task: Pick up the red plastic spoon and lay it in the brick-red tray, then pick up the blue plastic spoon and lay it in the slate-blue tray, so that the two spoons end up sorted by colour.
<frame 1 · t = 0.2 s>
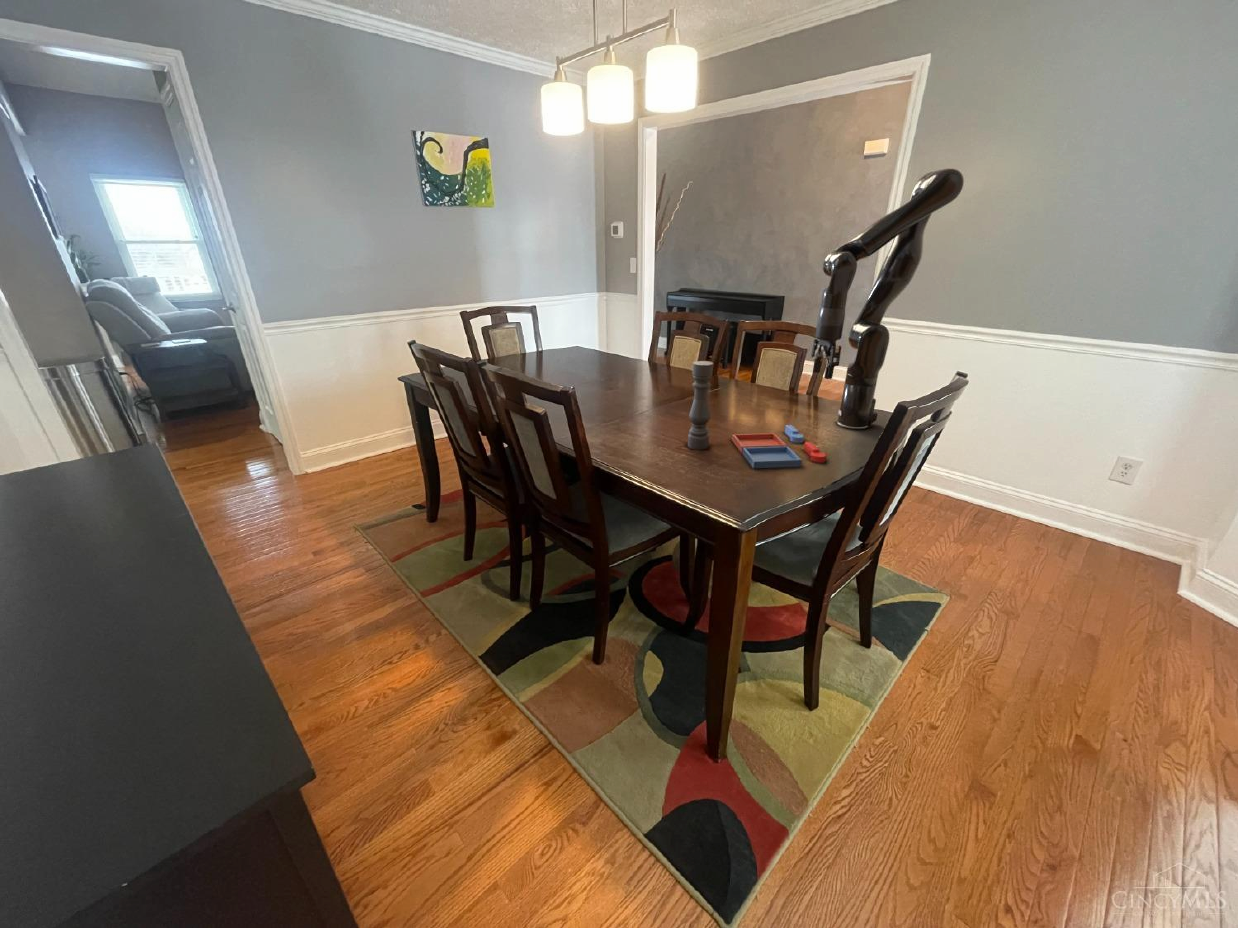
hand: (821, 375, 156), 17 cm above the table, tool pointing down, fingers open, 8 cm apart
blue tray: (770, 460, 137), on the table
blue spoon: (793, 438, 153), on the table
red tray: (758, 445, 147), on the table
candle holder: (697, 446, 148), on the table
red spoon: (813, 456, 139), on the table
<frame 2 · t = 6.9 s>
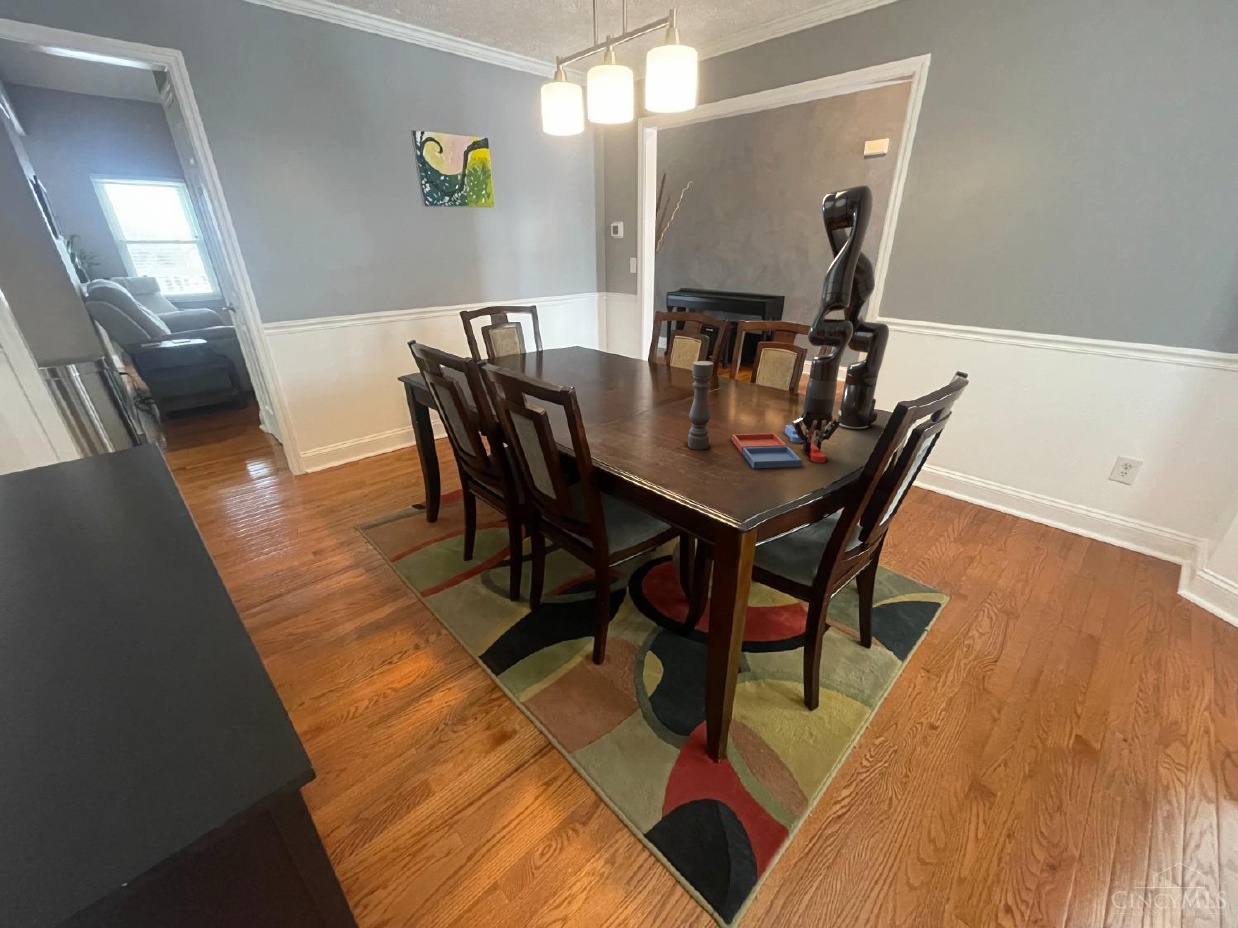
hand: (811, 452, 141), 0 cm above the table, tool pointing down, fingers closed on red spoon, 2 cm apart
red spoon: (813, 456, 139), on the table, touching gripper
everything else where it was.
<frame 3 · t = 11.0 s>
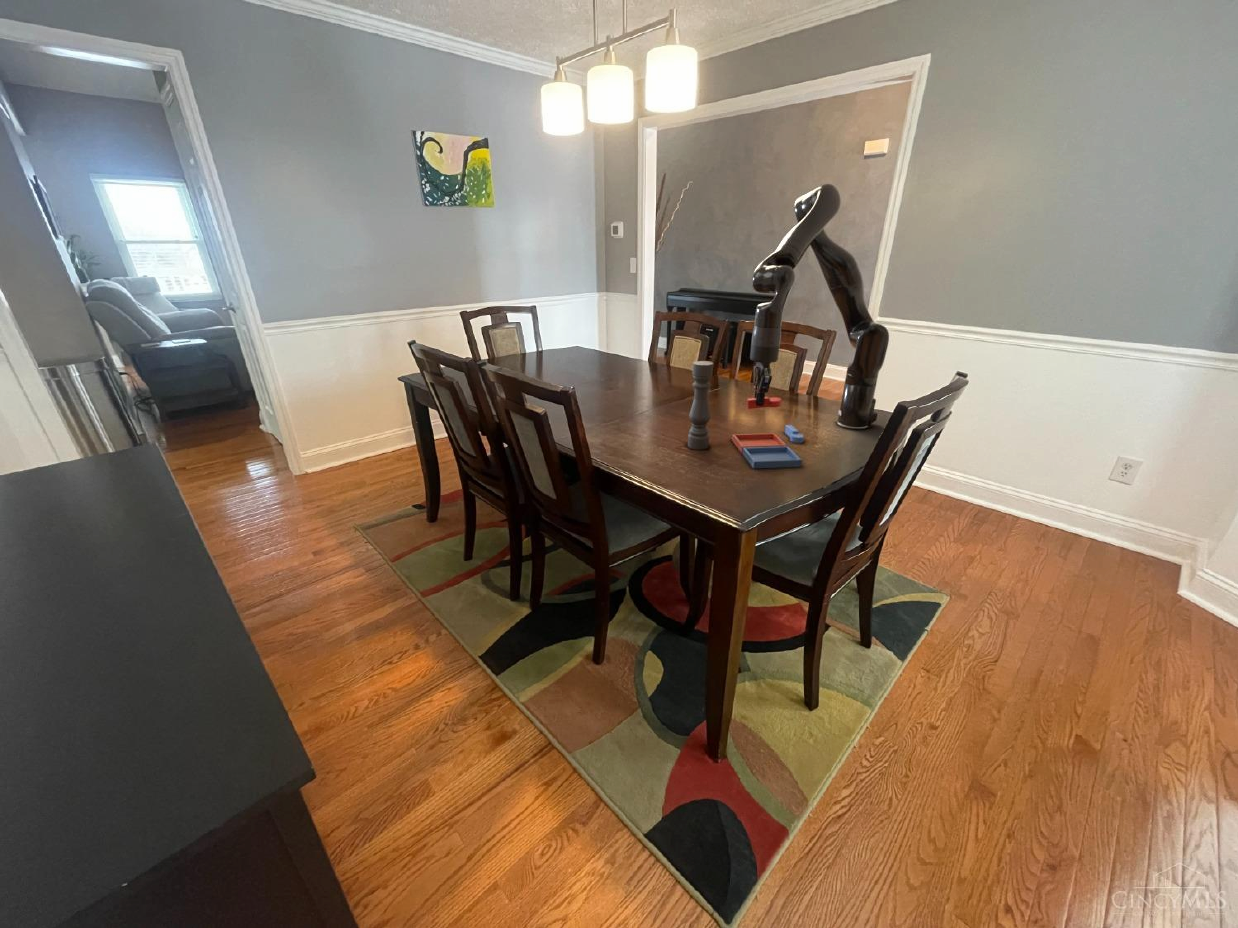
hand: (758, 404, 141), 13 cm above the table, tool pointing down, fingers closed on red spoon
red spoon: (765, 406, 141), point 13 cm above the table, tilted 7°, touching gripper
everything else where it was.
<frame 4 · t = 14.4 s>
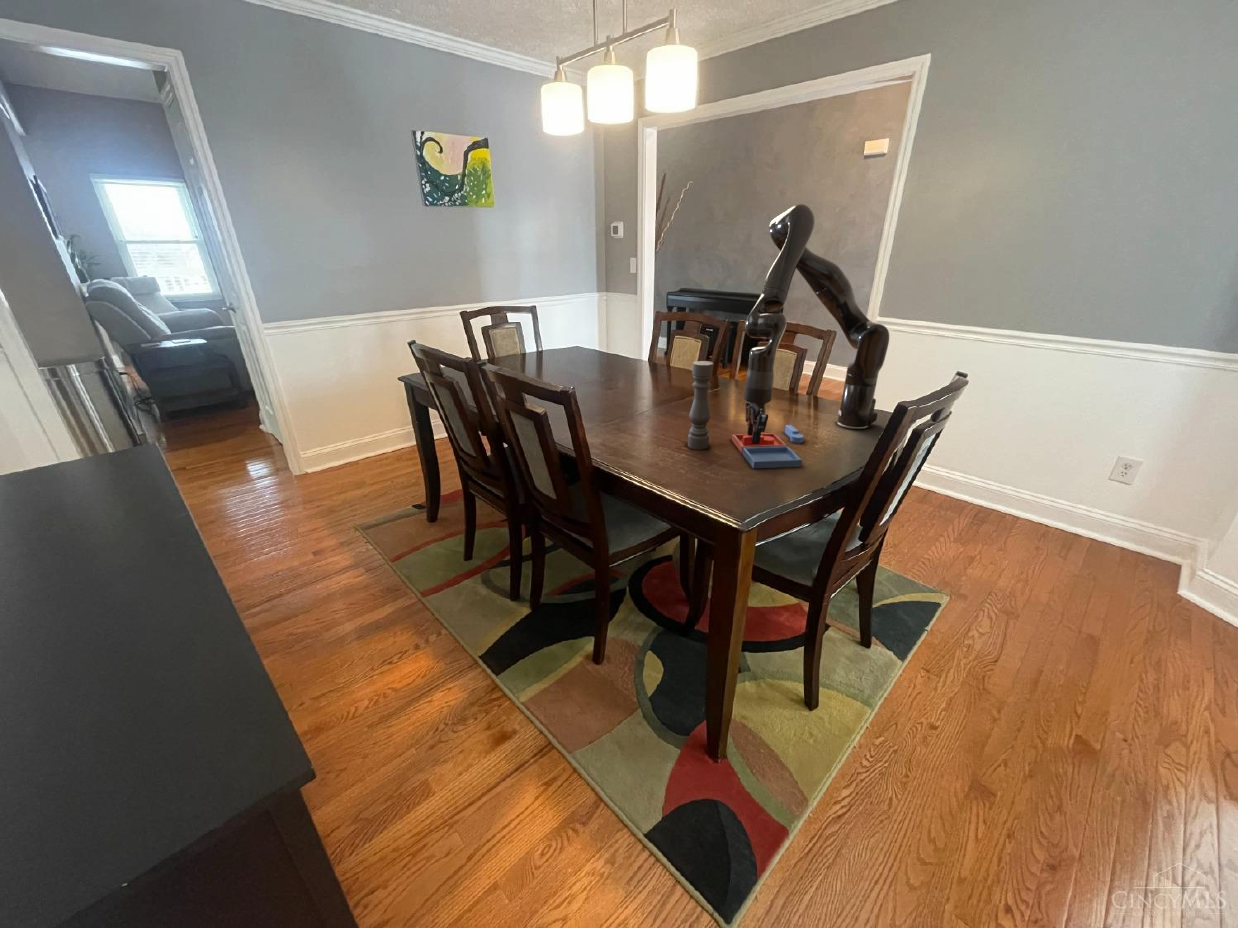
hand: (753, 440, 146), 2 cm above the table, tool pointing down, fingers open, 4 cm apart
red spoon: (759, 444, 147), resting on red tray
everything else where it was.
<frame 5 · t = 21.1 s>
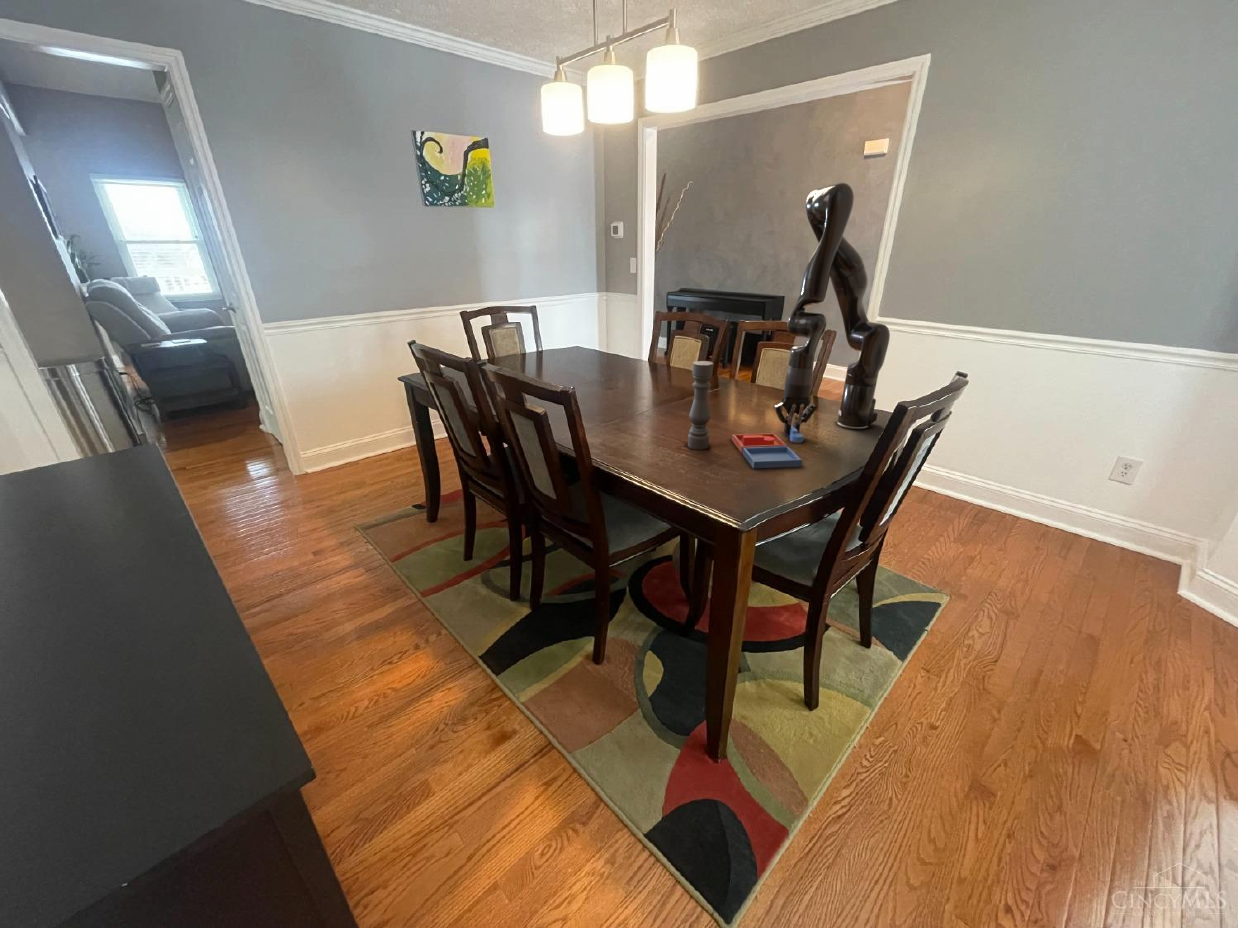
hand: (791, 434, 155), 0 cm above the table, tool pointing down, fingers closed on blue spoon
blue spoon: (793, 437, 153), on the table, touching gripper
everything else where it was.
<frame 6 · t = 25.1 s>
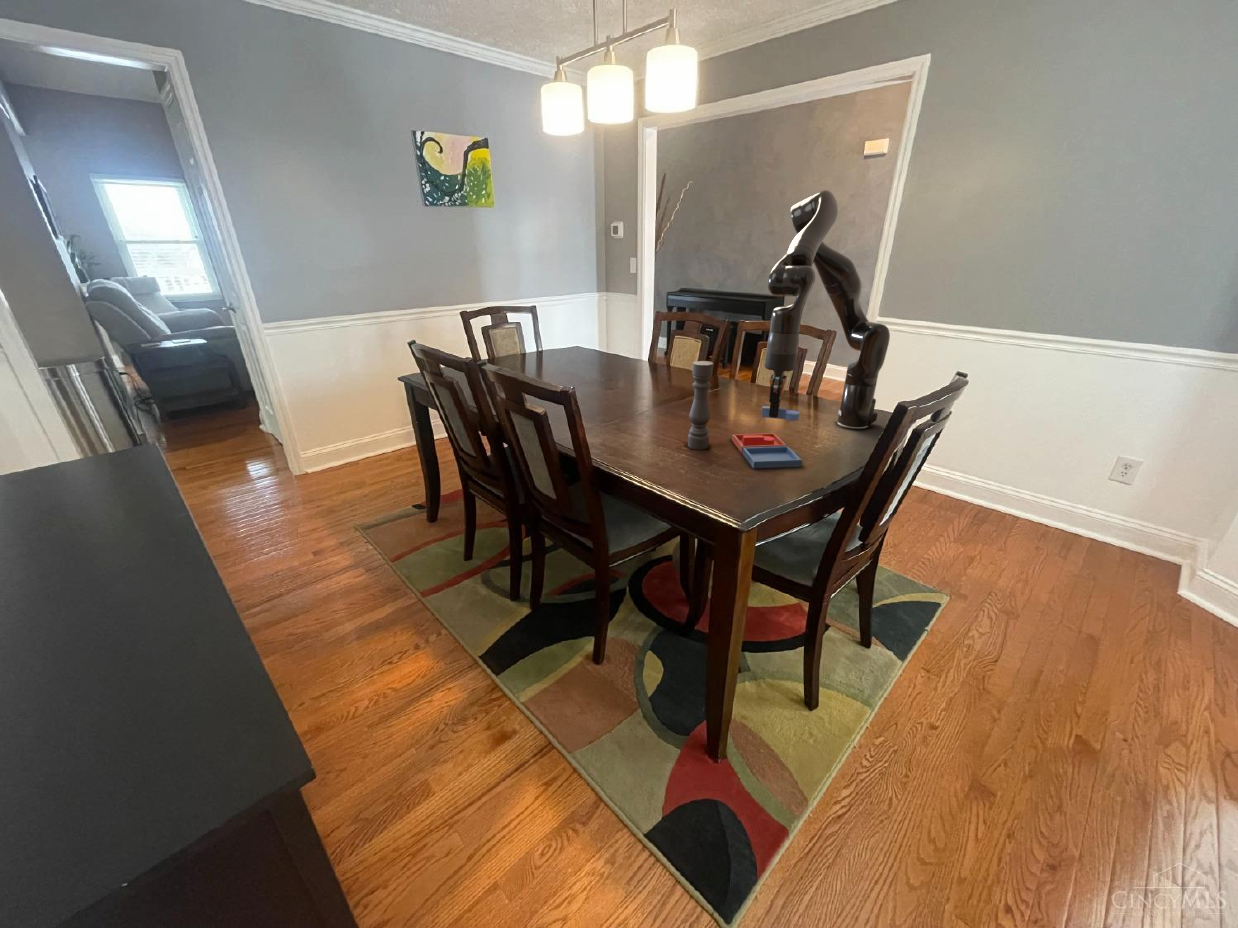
hand: (773, 415, 131), 13 cm above the table, tool pointing down, fingers closed on blue spoon
blue spoon: (781, 417, 130), point 13 cm above the table, touching gripper
everything else where it was.
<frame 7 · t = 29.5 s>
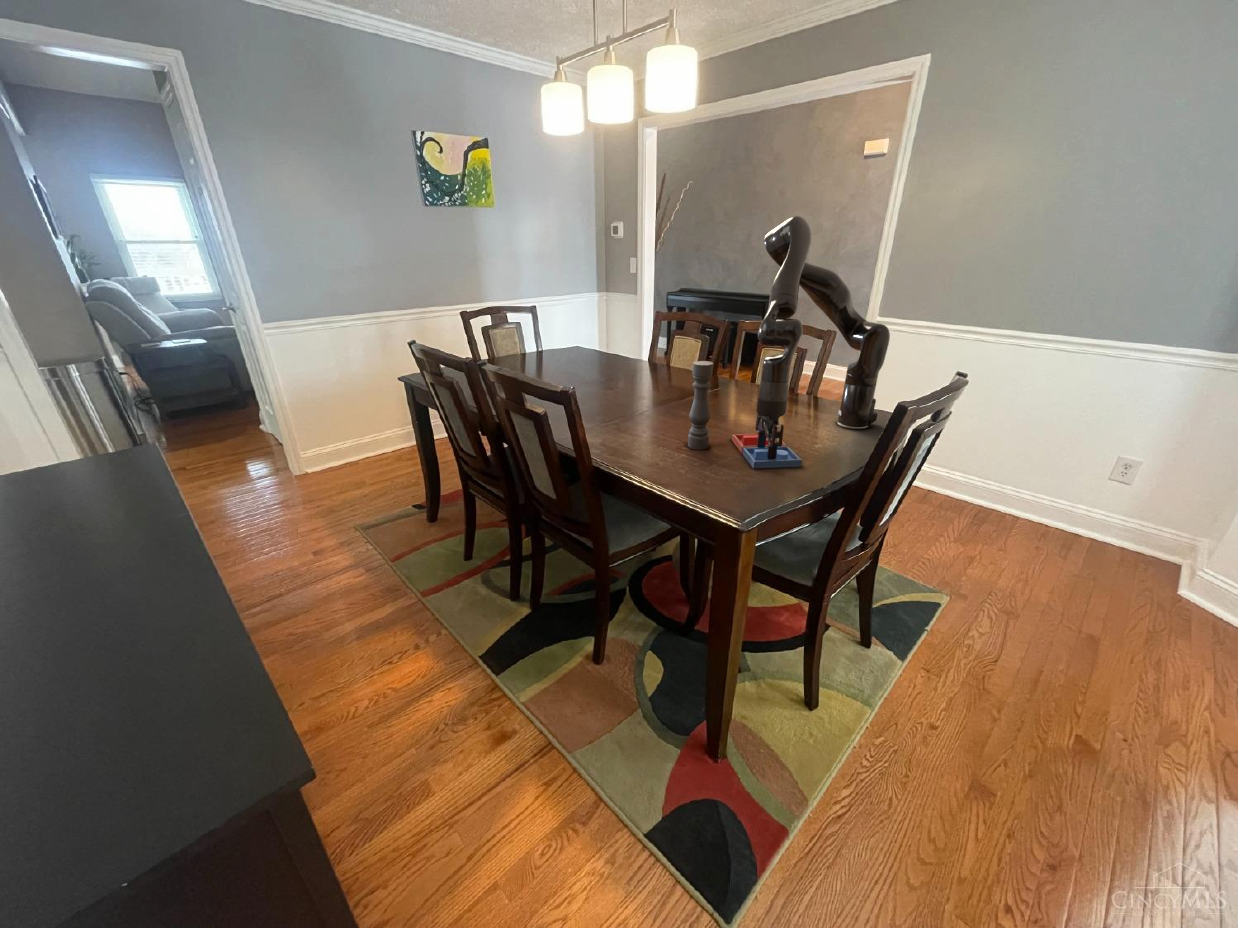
hand: (765, 452, 136), 2 cm above the table, tool pointing down, fingers open, 8 cm apart
blue spoon: (771, 458, 137), resting on blue tray
everything else where it was.
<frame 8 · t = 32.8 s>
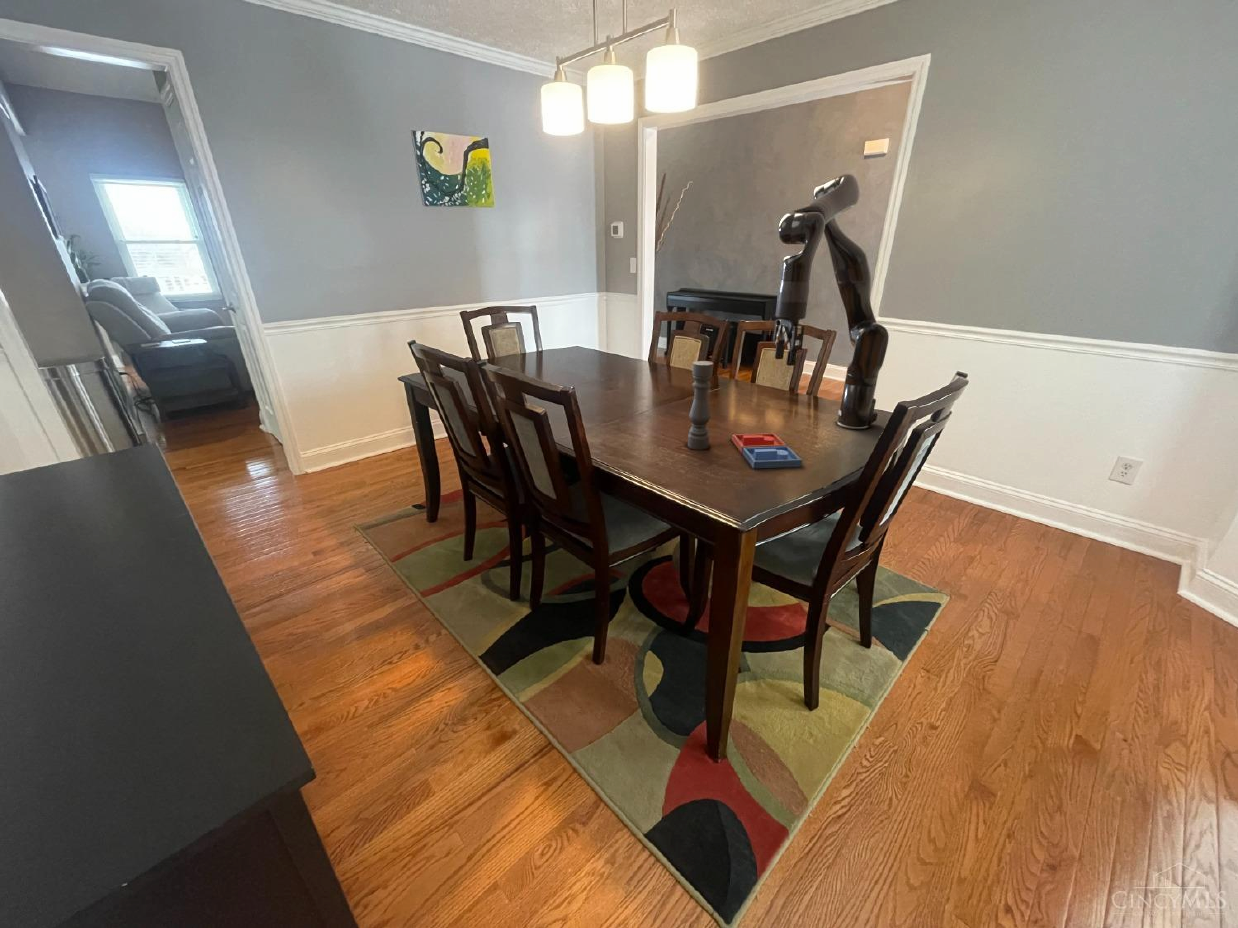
hand: (784, 362, 133), 26 cm above the table, tool pointing down, fingers open, 8 cm apart
nothing on the table moved.
at the end: red spoon inside the target area in the red tray (0.2 cm from its centre), point 0.5 cm above the red tray's base; blue spoon inside the target area in the blue tray (0.2 cm from its centre), point 0.5 cm above the blue tray's base; the gripper is holding nothing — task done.
